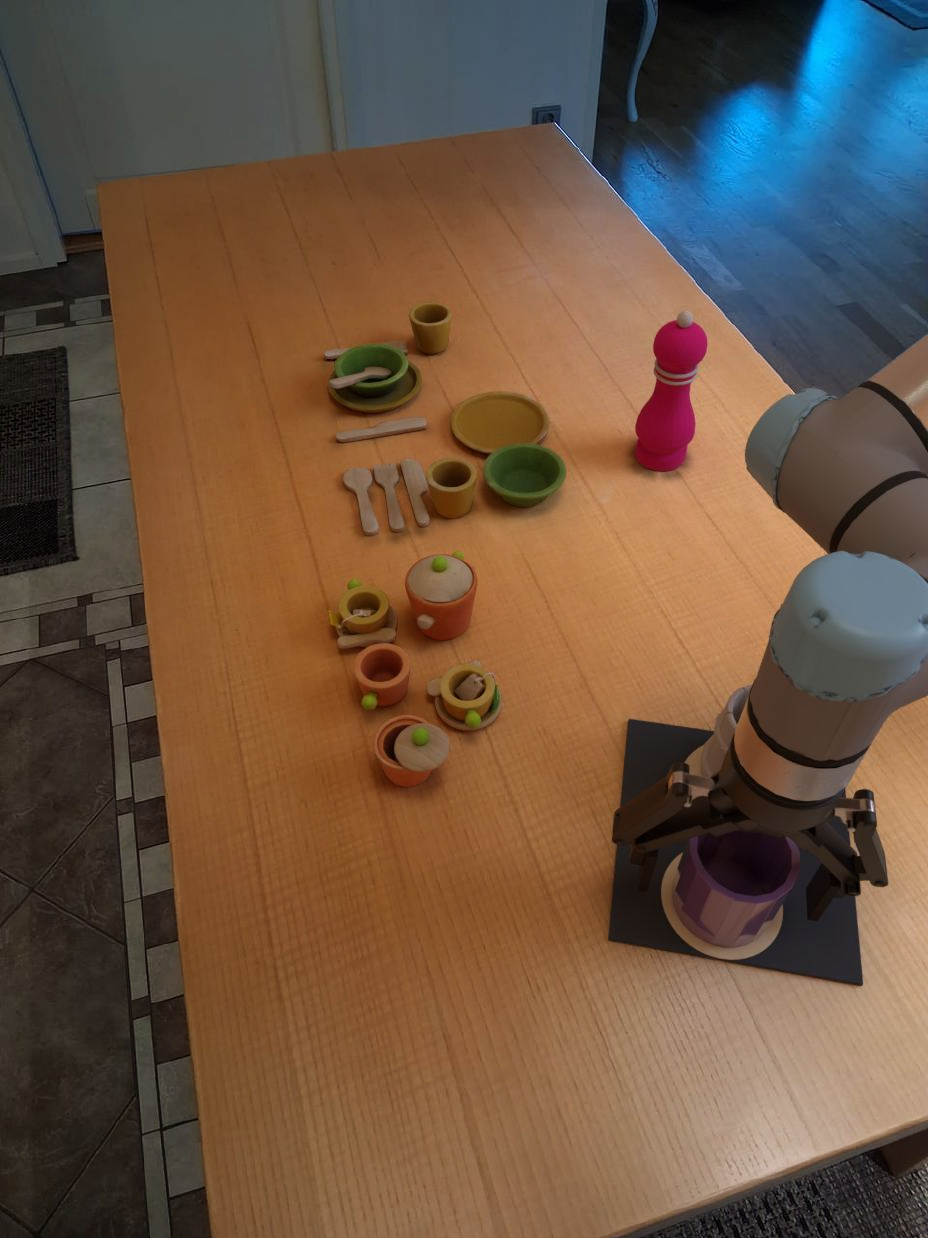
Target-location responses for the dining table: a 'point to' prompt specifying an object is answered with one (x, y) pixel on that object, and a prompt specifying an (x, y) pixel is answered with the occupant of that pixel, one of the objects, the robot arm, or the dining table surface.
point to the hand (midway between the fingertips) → (726, 890)
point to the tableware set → (478, 422)
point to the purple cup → (733, 885)
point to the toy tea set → (383, 669)
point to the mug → (723, 732)
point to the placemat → (652, 914)
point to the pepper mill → (671, 395)
